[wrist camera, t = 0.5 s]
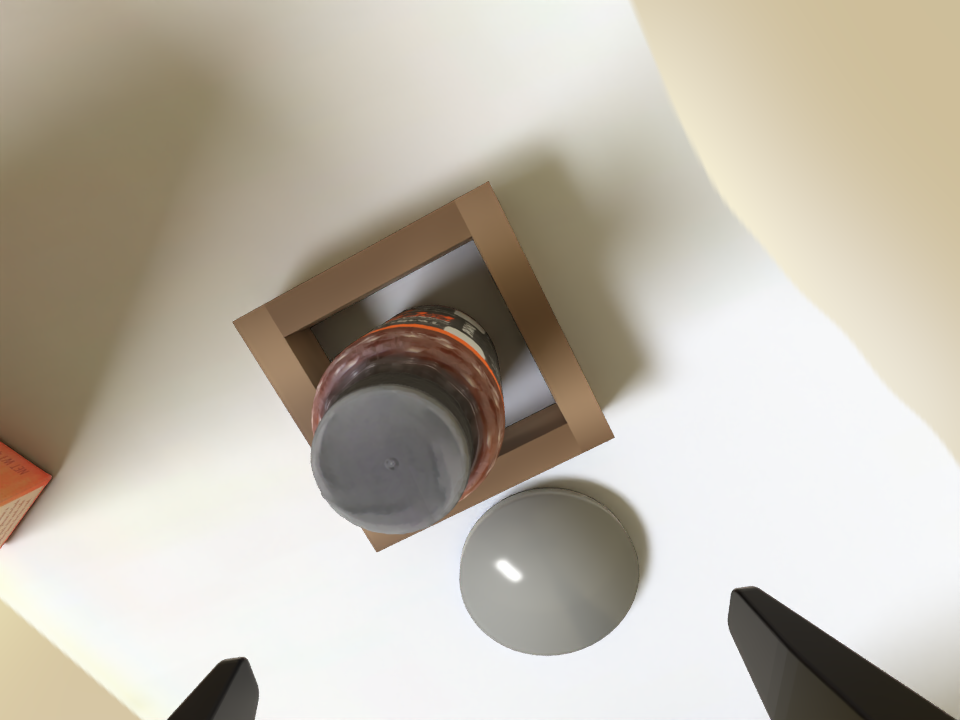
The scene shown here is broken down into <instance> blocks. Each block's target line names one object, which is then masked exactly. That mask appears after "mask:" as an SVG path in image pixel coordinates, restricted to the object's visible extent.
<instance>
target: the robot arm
mask: <svg viewBox="0 0 960 720" xmlns="http://www.w3.org/2000/svg"><path fill="white" fill-rule="evenodd" d="M728 626H729V630H730V633H731V635H732V637H733V640H734V642H735V644H736V646H737V648H738V650H739V653H740V655H741V657H742V659H743V661H744V663H745V665H746V668H747V670H748V672H749V674H750V676H751V678H752V681H753V683H754V685H755V687H756V689H757V691H758V694H759V696H760V698H761V700H762V702H763V704H764V707H765V709H766V711H767V713H768V715H769V717H770V719H771V720H956V719H955V718H953V717H952V716H950V715H949V714H947V713H946V712H944V711H943V710H941V709H940V708H938V707H937V706H935V705H934V704H932V703H931V702H929V701H928V700H926V699H925V698H923V697H922V696H920V695H919V694H917V693H916V692H914V691H913V690H911V689H910V688H908V687H907V686H905V685H904V684H902V683H901V682H899V681H898V680H896V679H895V678H893V677H892V676H890V675H889V674H887V673H886V672H884V671H883V670H881V669H880V668H878V667H877V666H875V665H874V664H872V663H871V662H869V661H868V660H866V659H865V658H863V657H862V656H860V655H859V654H857V653H856V652H854V651H853V650H851V649H850V648H848V647H847V646H845V645H844V644H842V643H841V642H839V641H838V640H836V639H835V638H833V637H832V636H830V635H829V634H827V633H826V632H824V631H823V630H821V629H820V628H818V627H817V626H815V625H814V624H812V623H811V622H809V621H808V620H806V619H805V618H803V617H802V616H800V615H798V614H797V613H795V612H794V611H792V610H791V609H789V608H788V607H786V606H785V605H783V604H782V603H780V602H779V601H777V600H776V599H774V598H773V597H771V596H770V595H768V594H767V593H765V592H764V591H762V590H761V589H759V588H757V587H754V586H748V587H741V588H735V589H734V590H733V591H732V593H731V598H730V606H729V613H728ZM258 700H259V689H258V685H257V682H256V679H255V677H254V674H253V671H252V669H251V666H250V663H249V661H248V659H246V658H245V657H237V658H230V659H225V660H222V661H221V662H219V663H218V664H217V665H216V666H215V667H214V668H213V669H212V671H211V672H210V673H209V674H208V675H207V676H206V677H205V678H204V679H203V680H202V682H201V683H200V684H199V685H198V686H197V687H196V688H195V689H194V690H193V691H192V693H191V694H190V695H189V696H188V697H187V698H186V699H185V700H184V701H183V702H182V704H181V705H180V706H179V707H178V708H177V709H176V710H175V711H174V712H173V714H172V715H171V716H170V717H169V718H168V719H167V720H255V715H256V710H257V705H258Z"/></svg>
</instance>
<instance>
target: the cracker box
mask: <svg viewBox="0 0 960 720" xmlns="http://www.w3.org/2000/svg"><path fill="white" fill-rule="evenodd" d="M51 479H52V476H51V475H50V474H48V473H46V472H44V471H43V470H42V469H40V468H38V467H37V466H35V465H34V464H33V463H31V462H30V461H28V460H27V459H25V458H24V457H22V456H21V455H20V454H18V453H17V452H15V451H14V450H12V449H11V448H9V447H8V446H6V445H5V444H4V443H2V442H1V441H0V548H1V547H2V546H3V544H4V543H5V541H6V540H7V539H8V537H9V536H10V535H11V533H12V532H13V531H14V529H15V528H16V526H17V525H18V524H19V522H20V521H21V519H22V518H23V517H24V515H25V514H26V513H27V511H28V510H29V508H30V507H31V506H32V504H33V503H34V502H35V500H36V499H37V498H38V496H39V495H40V493H41V492H42V490H43V489H44V487H45V486H46V485H47V484H48V482H49V481H50V480H51Z"/></svg>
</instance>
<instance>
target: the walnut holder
mask: <svg viewBox="0 0 960 720" xmlns="http://www.w3.org/2000/svg"><path fill="white" fill-rule="evenodd" d="M472 240H473V241H474V243H475V245H476V247H477V249H478V251H479V252H480V254H481V256H482V258H483V260H484V262H485V264H486V266H487V268H488V270H489V272H490V274H491V276H492V278H493V280H494V282H495V284H496V286H497V288H498V290H499V292H500V294H501V296H502V298H503V300H504V302H505V303H506V305H507V307H508V309H509V311H510V313H511V315H512V317H513V319H514V321H515V323H516V325H517V327H518V329H519V331H520V333H521V335H522V337H523V339H524V341H525V343H526V345H527V347H528V349H529V351H530V353H531V354H532V356H533V358H534V360H535V362H536V364H537V366H538V368H539V370H540V372H541V374H542V376H543V378H544V380H545V382H546V384H547V386H548V388H549V390H550V392H551V394H552V396H553V398H554V400H555V402H556V403H555V404H553V405H551V406H549V407H547V408H545V409H543V410H541V411H539V412H537V413H535V414H533V415H531V416H529V417H527V418H525V419H523V420H521V421H519V422H517V423H515V424H513V425H511V426H509V427H507V428H505V430H504V438H503V442H502V446H501V449H500V452H499V455H498V457H497V460H496V462H495V464H494V466H493V468H492V469H491V471H490V473H489V474H488V475H487V477H486V478H485V480H484V481H483V482H482V483H481V484H480V485H479V486H478V488H477V489H476V490H474V491H473V492H472V493H471V494H469V495H468V496H467V497H466V498H464V499H463V500H461V501H459V502H458V503H457V504H456V506H455V507H454V508H453V509H452V510H451V511H450V512H449V513H448V514H447V515H446V516H445V517H443V518H442V519H441V520H439V521H437V522H436V523H434V524H433V525H435V524H437V523H439V522H441V521H443V520H445V519H447V518H449V517H451V516H453V515H455V514H457V513H459V512H462V511H464V510H466V509H468V508H470V507H472V506H474V505H476V504H478V503H480V502H482V501H484V500H486V499H488V498H491V497H493V496H495V495H497V494H499V493H501V492H503V491H505V490H507V489H509V488H511V487H513V486H515V485H517V484H520V483H522V482H524V481H526V480H528V479H530V478H532V477H534V476H536V475H538V474H540V473H542V472H544V471H546V470H549V469H551V468H553V467H555V466H557V465H559V464H561V463H563V462H565V461H567V460H569V459H571V458H573V457H575V456H578V455H580V454H582V453H584V452H586V451H588V450H590V449H592V448H594V447H596V446H598V445H600V444H602V443H604V442H607V441H609V440H611V439H613V438H615V437H614V435H613V433H612V431H611V429H610V427H609V425H608V423H607V421H606V419H605V417H604V414H603V412H602V410H601V408H600V406H599V404H598V402H597V400H596V398H595V396H594V394H593V392H592V390H591V388H590V386H589V384H588V382H587V380H586V378H585V376H584V374H583V372H582V370H581V368H580V366H579V364H578V362H577V360H576V358H575V356H574V354H573V351H572V349H571V347H570V345H569V343H568V341H567V339H566V337H565V335H564V333H563V331H562V329H561V327H560V325H559V323H558V321H557V319H556V317H555V315H554V313H553V311H552V309H551V307H550V305H549V303H548V301H547V299H546V297H545V295H544V293H543V291H542V288H541V286H540V284H539V282H538V280H537V278H536V276H535V274H534V272H533V270H532V268H531V266H530V264H529V262H528V260H527V258H526V256H525V254H524V252H523V250H522V248H521V246H520V244H519V242H518V240H517V238H516V236H515V234H514V232H513V230H512V228H511V225H510V223H509V221H508V219H507V217H506V215H505V213H504V211H503V209H502V207H501V205H500V203H499V201H498V199H497V197H496V195H495V193H494V191H493V189H492V187H491V185H490V183H489V181H488V182H486V183H484V184H482V185H481V186H479V187H477V188H475V189H473V190H471V191H470V192H468V193H466V194H464V195H462V196H461V197H459V198H457V199H455V200H453V201H451V202H450V203H448V204H446V205H444V206H442V207H441V208H439V209H437V210H435V211H433V212H431V213H430V214H428V215H426V216H424V217H422V218H420V219H419V220H417V221H415V222H413V223H411V224H410V225H408V226H406V227H404V228H402V229H400V230H399V231H397V232H395V233H393V234H391V235H389V236H388V237H386V238H384V239H382V240H380V241H379V242H377V243H375V244H373V245H371V246H369V247H368V248H366V249H364V250H362V251H360V252H359V253H357V254H355V255H353V256H351V257H349V258H348V259H346V260H344V261H342V262H340V263H338V264H337V265H335V266H333V267H331V268H329V269H328V270H326V271H324V272H322V273H320V274H318V275H317V276H315V277H313V278H311V279H309V280H307V281H306V282H304V283H302V284H300V285H298V286H297V287H295V288H293V289H291V290H289V291H287V292H286V293H284V294H282V295H280V296H278V297H277V298H275V299H273V300H271V301H269V302H267V303H266V304H264V305H262V306H260V307H258V308H256V309H255V310H253V311H251V312H249V313H247V314H246V315H244V316H242V317H240V318H238V319H236V320H235V321H233V324H234V325H235V327H236V329H237V330H238V332H239V333H240V335H241V337H242V338H243V340H244V341H245V343H246V345H247V346H248V348H249V349H250V351H251V353H252V354H253V356H254V357H255V359H256V361H257V362H258V364H259V365H260V367H261V369H262V370H263V372H264V373H265V375H266V377H267V378H268V380H269V381H270V383H271V385H272V386H273V388H274V389H275V391H276V392H277V394H278V396H279V397H280V399H281V400H282V402H283V404H284V405H285V407H286V408H287V410H288V412H289V413H290V415H291V416H292V418H293V420H294V421H295V423H296V424H297V426H298V428H299V429H300V431H301V432H302V434H303V436H304V437H305V439H306V440H307V442H308V444H309V445H310V447H312V441H313V438H314V437H313V431H312V423H311V419H312V412H311V411H312V407H313V401H314V397H315V394H316V389H317V386H318V384H319V382H320V380H321V378H322V375H323V373H324V372H325V371H326V369H327V368H328V366H329V365H330V361H329V360H328V358H327V356H326V355H325V353H324V351H323V349H322V348H321V346H320V344H319V343H318V341H317V339H316V338H315V336H314V334H313V333H312V331H311V329H310V327H312V326H314V325H316V324H317V323H319V322H321V321H323V320H325V319H327V318H329V317H330V316H332V315H334V314H336V313H338V312H340V311H342V310H343V309H345V308H347V307H349V306H351V305H353V304H355V303H356V302H358V301H360V300H362V299H364V298H366V297H368V296H369V295H371V294H373V293H375V292H377V291H379V290H381V289H382V288H384V287H386V286H388V285H390V284H392V283H394V282H395V281H397V280H399V279H401V278H403V277H405V276H407V275H408V274H410V273H412V272H414V271H416V270H418V269H420V268H421V267H423V266H425V265H427V264H429V263H431V262H433V261H434V260H436V259H438V258H440V257H442V256H444V255H446V254H447V253H449V252H451V251H453V250H455V249H457V248H459V247H460V246H462V245H464V244H466V243H468V242H470V241H472ZM433 525H431V526H433ZM425 529H426V528H425ZM362 530H363V531H364V533H365V534H366V536H367V538H368V539H369V541H370V542H371V544H372V546H373V547H374V549H375V550H376V552H379V551H381V550H383V549H385V548H387V547H389V546H391V545H393V544H395V543H397V542H399V541H401V540H404V539H406V538H408V537H410V536H412V535H414V534H416V533H418V532H420V531H422V530H424V529H422V530H418V531H416V532H413V533H406V534H384V533H378V532H371V531H369V530H366V529H364V528H362Z"/></svg>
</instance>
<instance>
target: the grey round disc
mask: <svg viewBox="0 0 960 720" xmlns="http://www.w3.org/2000/svg"><path fill="white" fill-rule="evenodd" d="M459 580H460V590H461V594H462V598H463V602H464V604H465V606H466V609H467V611H468V613H469V614H470V616H471V618H472V619H473V621H474V622H475V623H476V624H477V626H478V627H479V628H480V629H481V630H482V631H483V632H484V633H485V634H486V635H488V636H489V637H490V638H492V639H493V640H494V641H496V642H498V643H500V644H501V645H503V646H505V647H507V648H510V649H512V650H515V651H518V652H522V653H526V654H532V655H542V656H551V655H562V654H567V653H572V652H575V651H578V650H581V649H584V648H586V647H588V646H591V645H593V644H594V643H596V642H598V641H600V640H601V639H603V638H604V637H605V636H607V635H608V634H609V633H610V632H612V631H613V630H614V629H615V628H616V627H617V626H618V625H619V623H620V622H621V621H622V620H623V619H624V617H625V616H626V614H627V612H628V611H629V609H630V607H631V605H632V603H633V601H634V598H635V595H636V592H637V588H638V581H639V565H638V559H637V555H636V552H635V549H634V546H633V544H632V542H631V540H630V538H629V536H628V534H627V532H626V530H625V529H624V527H623V526H622V524H621V523H620V521H619V520H618V519H617V517H616V516H615V515H614V514H613V513H612V512H611V511H610V510H609V509H607V508H606V507H605V506H604V505H602V504H601V503H599V502H598V501H596V500H594V499H593V498H591V497H588V496H586V495H584V494H581V493H578V492H575V491H571V490H565V489H558V488H542V489H533V490H528V491H524V492H521V493H518V494H515V495H512V496H510V497H508V498H506V499H504V500H502V501H500V502H499V503H497V504H496V505H494V506H493V507H492V508H490V509H489V510H488V511H487V512H486V513H484V515H483V516H482V517H481V518H480V519H479V520H478V521H477V522H476V524H475V525H474V526H473V528H472V529H471V531H470V533H469V535H468V537H467V539H466V541H465V544H464V547H463V550H462V555H461V561H460V578H459Z"/></svg>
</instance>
